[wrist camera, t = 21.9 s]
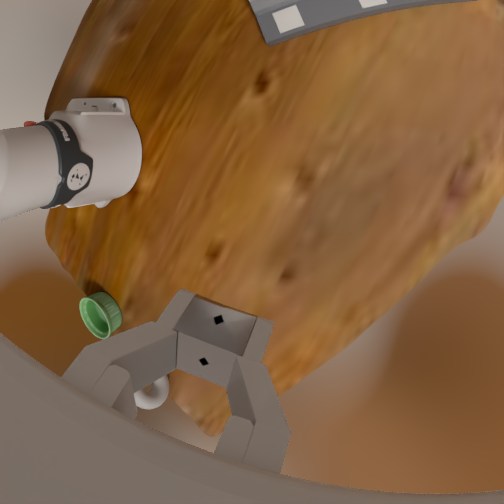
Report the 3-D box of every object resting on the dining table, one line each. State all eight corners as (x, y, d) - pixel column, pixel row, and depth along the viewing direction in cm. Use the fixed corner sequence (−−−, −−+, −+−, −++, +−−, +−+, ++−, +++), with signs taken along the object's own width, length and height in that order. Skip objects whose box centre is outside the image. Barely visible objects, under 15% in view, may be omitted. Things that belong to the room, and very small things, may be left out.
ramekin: (93, 281, 58) (77, 289, 54) (124, 300, 56) (108, 310, 52) (95, 316, 62) (81, 325, 58) (125, 336, 59) (110, 347, 55)
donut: (143, 349, 58) (109, 376, 49) (153, 346, 56) (119, 375, 48) (170, 389, 59) (140, 419, 50) (181, 388, 57) (151, 420, 49)
